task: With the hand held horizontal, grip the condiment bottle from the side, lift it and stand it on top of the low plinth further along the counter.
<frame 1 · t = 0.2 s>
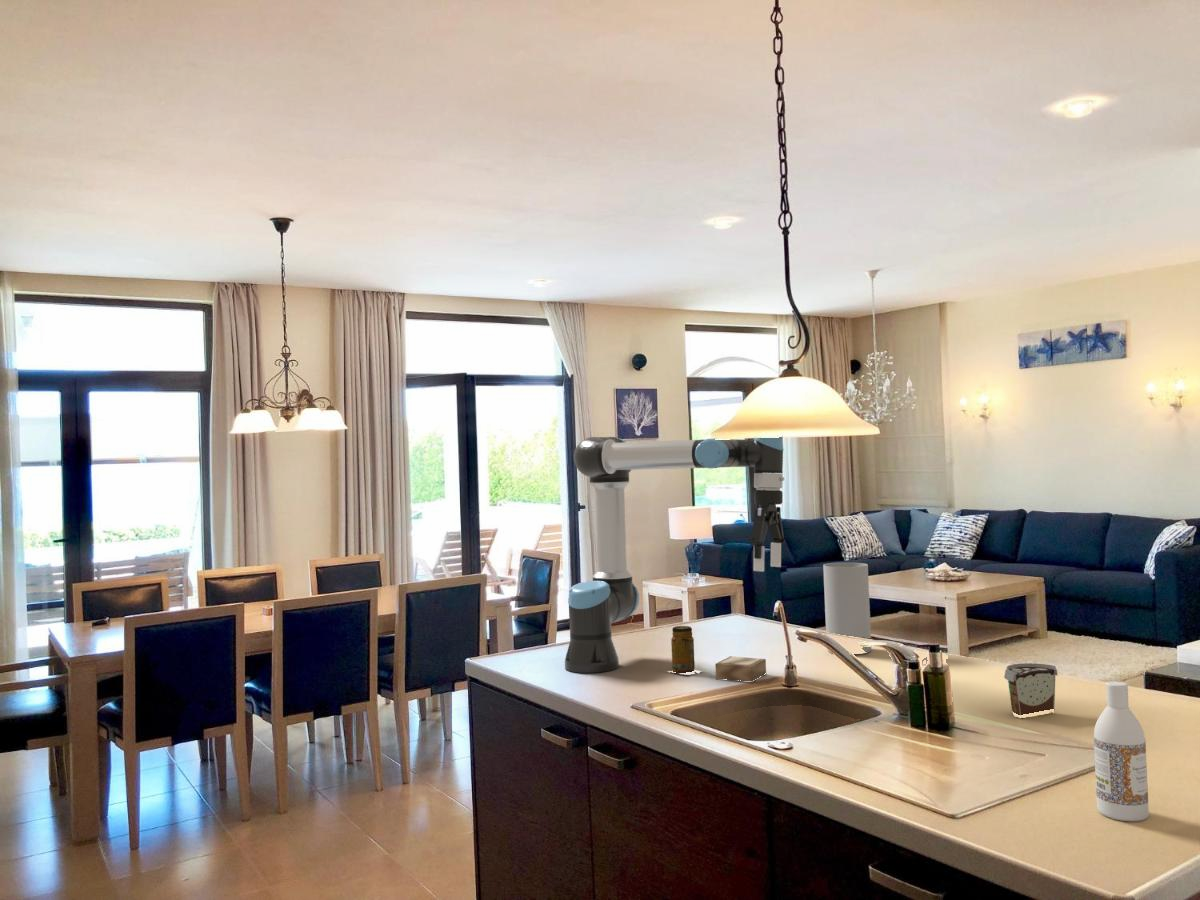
hand: (767, 569, 250), 27 cm above the worktop, tool pointing down, fingers open, 13 cm apart
plinth: (741, 676, 244), on the worktop
cylinder vase: (849, 651, 270), on the worktop
condiment: (685, 673, 252), on the worktop
bath foam: (1122, 815, 143), on the worktop
food container: (1026, 713, 200), on the worktop
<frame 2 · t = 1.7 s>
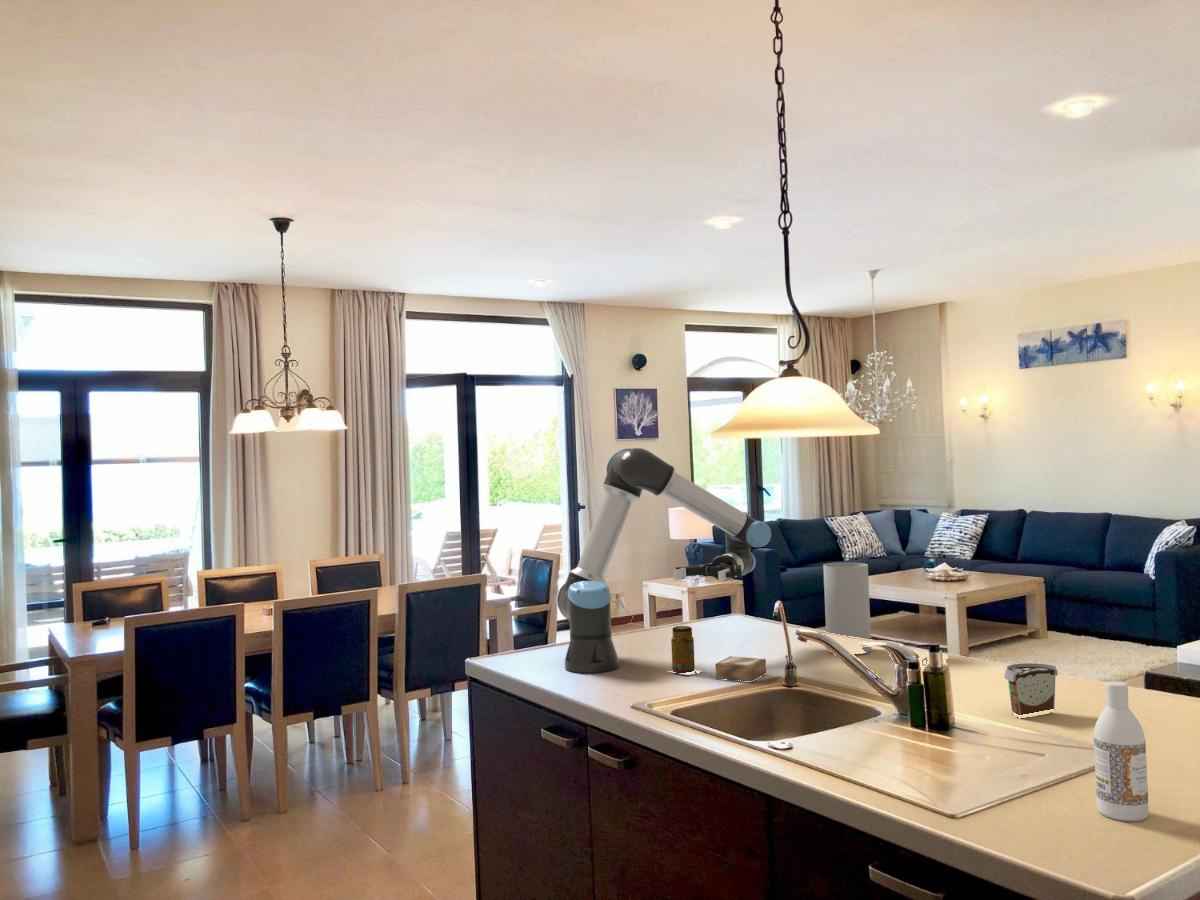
hand: (697, 575, 260), 25 cm above the worktop, tool horizontal, fingers open, 13 cm apart
nothing on the worktop moved.
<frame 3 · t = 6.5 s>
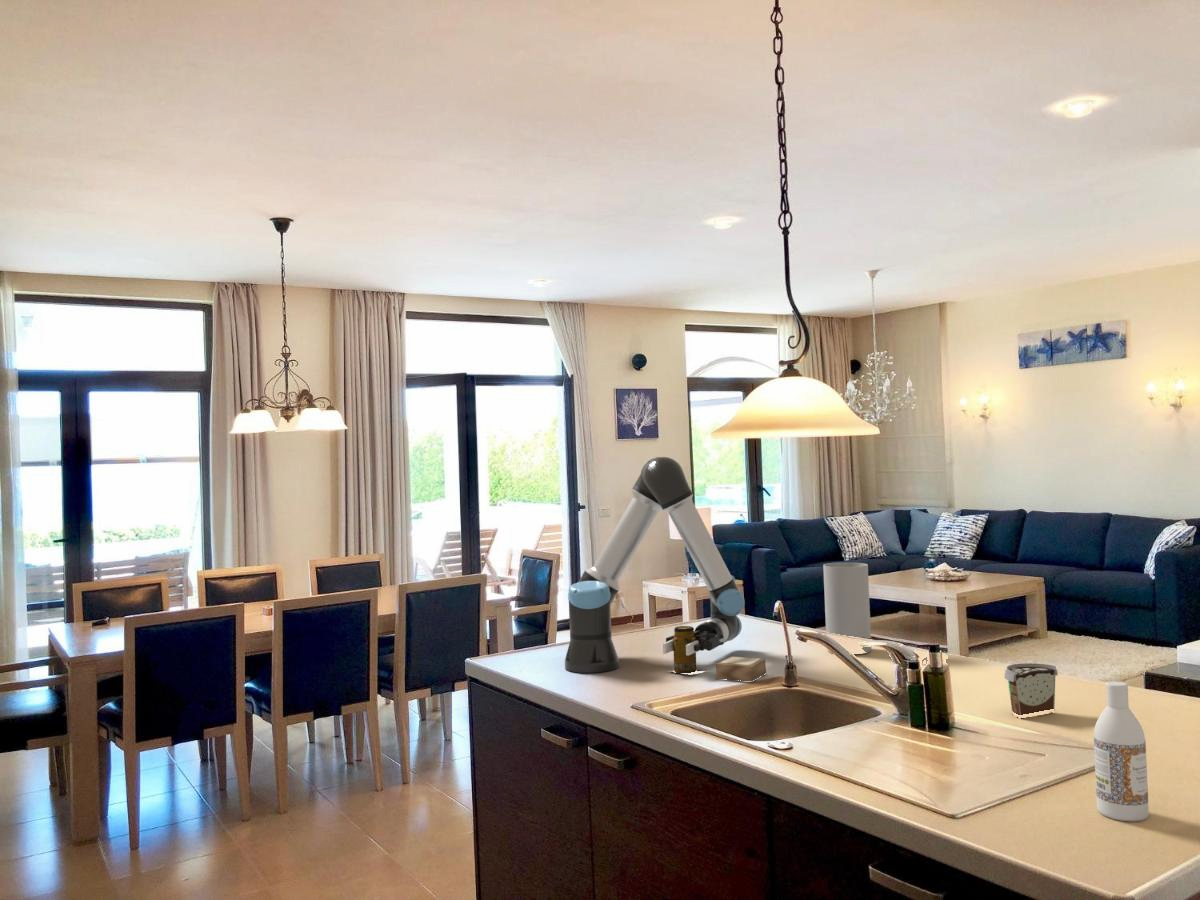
hand: (675, 649, 247), 7 cm above the worktop, tool horizontal, fingers closed on condiment, 6 cm apart
condiment: (687, 673, 251), on the worktop, touching gripper
everything else where it was.
when the fingers open (12 cm above the worktop, at t = 10.4 s): condiment drops 1 cm, resting on plinth.
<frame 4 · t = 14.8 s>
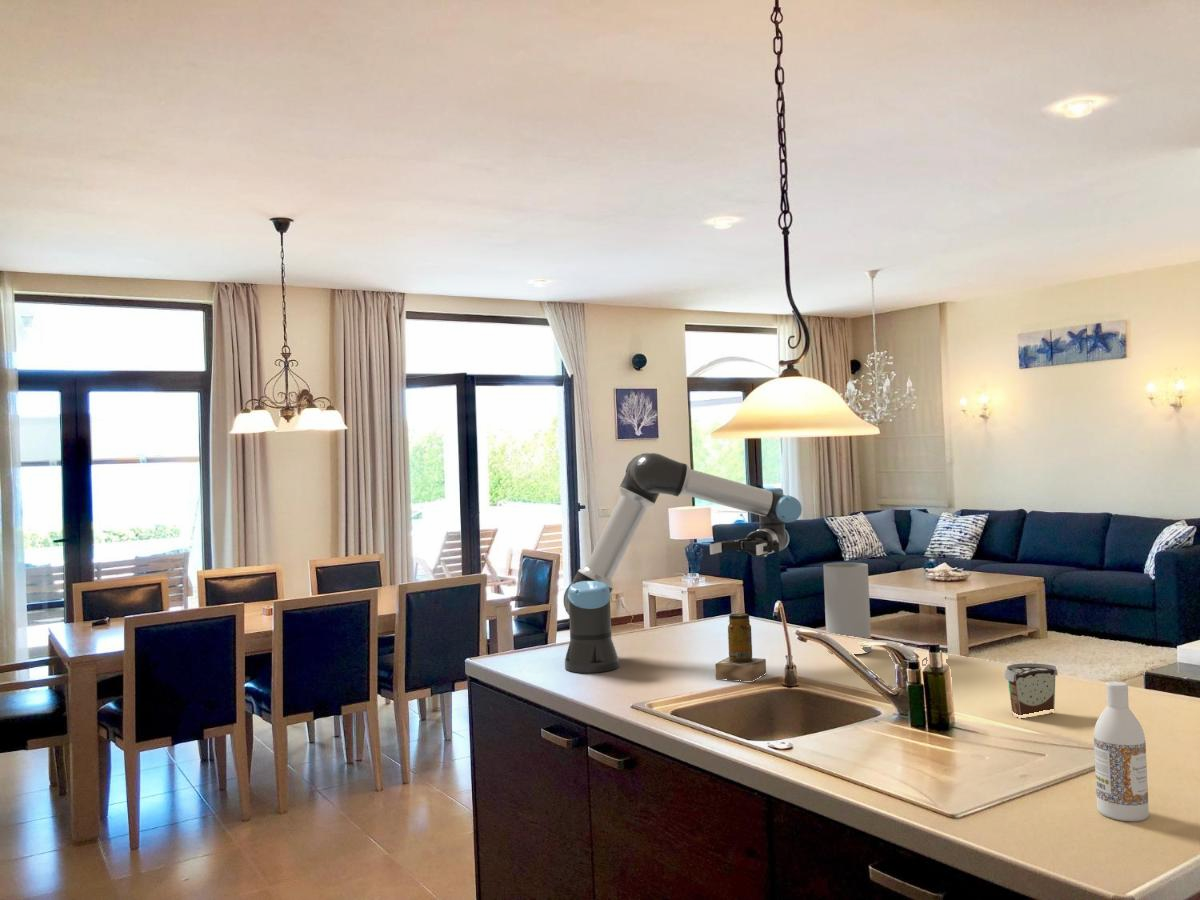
hand: (733, 549, 256), 32 cm above the worktop, tool horizontal, fingers open, 13 cm apart
condiment: (743, 661, 243), point 4 cm above the worktop, touching plinth
everything else where it was.
at the end: condiment inside the target area on the plinth (0.7 cm from its centre), point 4.0 cm above the plinth's base; condiment tilted 0°; the gripper is holding nothing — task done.
